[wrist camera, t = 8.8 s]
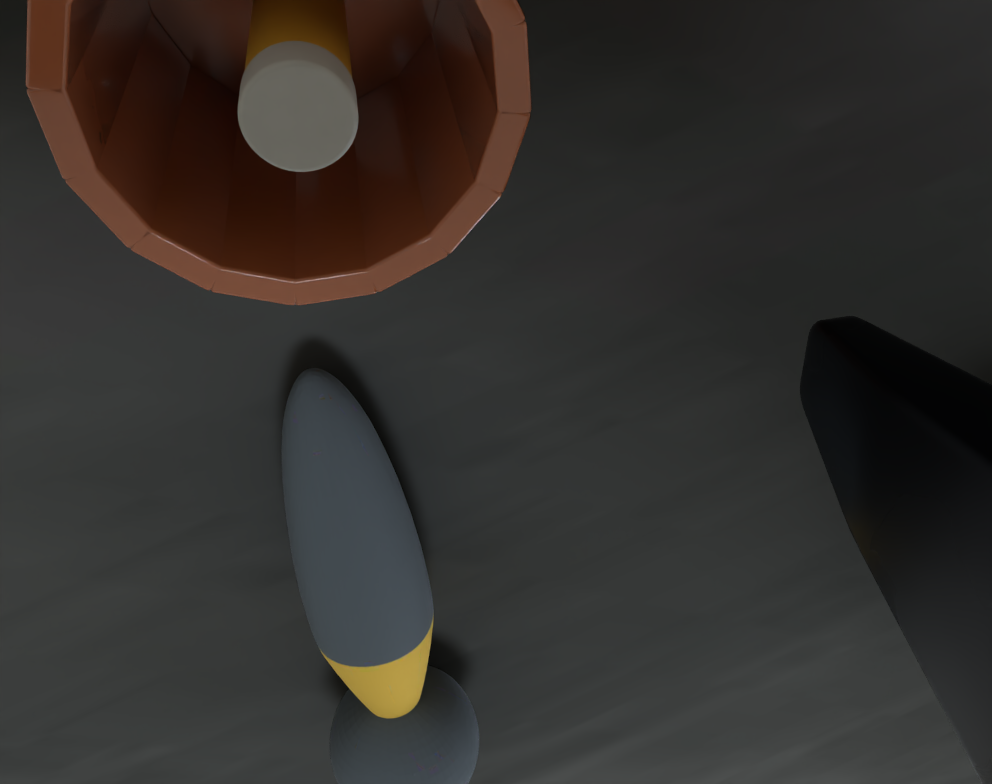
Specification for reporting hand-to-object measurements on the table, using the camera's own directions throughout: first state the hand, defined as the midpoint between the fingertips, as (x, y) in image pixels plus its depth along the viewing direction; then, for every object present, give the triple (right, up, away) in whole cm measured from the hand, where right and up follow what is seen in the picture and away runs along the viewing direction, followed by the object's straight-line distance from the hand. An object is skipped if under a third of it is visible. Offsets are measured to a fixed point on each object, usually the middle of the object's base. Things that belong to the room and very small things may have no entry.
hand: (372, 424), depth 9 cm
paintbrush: (-3, -6, +21) cm, 22 cm away
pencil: (-2, +8, +8) cm, 12 cm away
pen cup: (-3, +9, +9) cm, 13 cm away
